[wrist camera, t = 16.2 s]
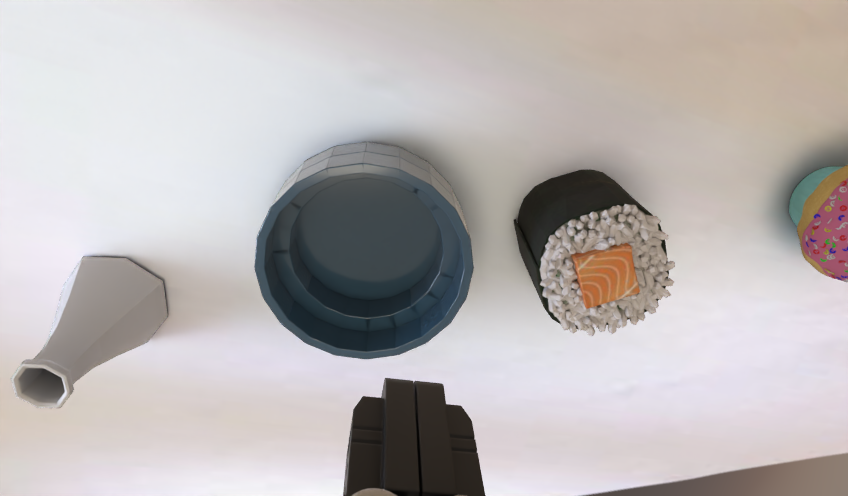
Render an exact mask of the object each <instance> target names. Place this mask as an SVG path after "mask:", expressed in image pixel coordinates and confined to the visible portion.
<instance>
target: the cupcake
mask: <svg viewBox="0 0 848 496" xmlns="http://www.w3.org/2000/svg"><path fill="white" fill-rule="evenodd" d="M789 213H790V216H791V219H792V220H793V222H794V223H795V225H796V226H797V232H798V236H799V239H800V245H801V250H802V254H803V256H804V258H805V259H806V260H807V261H808V262H809V263H810V264H811V265H812V266H813V267H814V268H815V269H816V270H818V271H819V272H820V273H822V274H824V275H826V276H829V277H831V278H834V279H838V280H842V281H844V282H848V165H847V166H844V167H839V166H831V167H825V168H822V169H819V170H816V171H814V172H812V173H811V174H809V175H808V176H807V177H805V178H804V179H803V180H802V181H801V182H800V183H799V184H798V186H797V187H796V188H795V190H794V192H793V194H792V196H791V199H790V203H789Z"/></svg>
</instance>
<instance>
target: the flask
mask: <svg viewBox="0 0 848 496" xmlns="http://www.w3.org/2000/svg"><path fill="white" fill-rule="evenodd" d="M167 317H168V314H167V307H166V299H165V292H164V284H163V281H162V280H160V279H158V278H157V277H155V276H154V275H152V274H150V273H149V272H147V271H146V270H144V269H143V268H141V267H139V266H138V265H136V264H135V263H133V262H131V261H130V260H128V259H127V258H109V257H84V256H83V258H82V259H81V261H80V262H79V263H78V265H77V266H76V268H75V269H74V271H73V272H72V274H71V275H70V277H69V278H68V279H67V281H66V282H65V284H64V286H63V289H62V292H61V296H60V300H59V304H58V308H57V312H56V316H55V319H54V322H53V325H52V328H51V331H50V334H49V338H48V340H47V342H46V344H45V345H44V347H43V349H42V350H41V351H40V353H39V354H38V355H37V356H36V357H35V358H34V359H32V360H30V359H28V360H25V361H23V362H22V363H21V365H20V366H19V367H18V369H17V370H16V372H15V373H14V375H13V376H12V378H11V381H12V385H13V388H14V392H15V395H16V397H18V398H19V399H21V400H23V401H25V402H27V403H29V404H31V405H33V406H35V407H37V408H61V407H62V406H63V404H64V403H65V402H66V400H67V399H68V398H69V396H70V395H71V394H72V392H73V390H74V387H73V384H74V383H75V382H76V381H77V380H78V379H80V378H81V377H82V376H84V375H85V374H86V373H87V372H89V371H90V370H91V369H92V368H94V367H96V366H98V365H100V364H102V363H104V362H106V361H108V360H110V359H112V358H114V357H116V356H118V355H120V354H122V353H125V352H127V351H129V350H132V349H134V348H136V347H138V346H141V345H143V344H145V343H147V342H148V341H149V340H150V338H151V337H152V336H153V335H154V333H155V332H156V331H157V329H158V328H159V327H160V326H161V324H162V323H163V322H164V320H165V319H166V318H167Z"/></svg>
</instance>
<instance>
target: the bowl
mask: <svg viewBox="0 0 848 496" xmlns="http://www.w3.org/2000/svg"><path fill="white" fill-rule="evenodd" d="M473 268H474V267H473V258H472V249H471V239H470V236H469V232H468V229H467V225H466V222H465V219H464V215H463V211H462V208H461V206H460V204H459V202H458V200H457V198H456V196H455V194H454V192H453V190H452V188H451V186H450V184H449V183H448V182H447V181H446V180H445V179H444V178H443V177H442V176H441V175H440V174H439V173H438V172H437V171H436V169H435V168H434V167H433V166H432V165H431V164H430V163H428V162H427V161H425V160H423V159H422V158H420V157H418V156H416V155H414V154H412V153H410V152H408V151H406V150H404V149H402V148H399V147H396V146H390V145H384V144H378V143H372V142H361V143H354V144H347V145H339V146H334V147H332V148H330V149H328V150H326V151H324V152H322V153H320V154H318V155H316V156H314V157H312V158H310V159H307V161H305V162H304V163H303V164H302V165H301V166H300V167H299V168H298V169H297V170H296V171H295V172H294V173H293V174H292V175H291V176H290V177H289V178H288V179H287V180H286V181H285V183H284V184H283V186H282V188H281V190H280V191H279V193H278V195H277V197H276V198H275V200H274V202H273V204H272V206H271V207H270V209H269V211H268V213H267V216H266V218H265V220H264V222H263V224H262V226H261V229H260V231H259V233H258V235H257V240H256V254H255V272H256V275H257V279H258V282H259V286H260V289H261V293H262V296H263V298H264V300H265V301H266V303H267V304H268V306H269V307H270V309H271V310H272V312H273V313H274V314H275V316H276V317H277V319H278V320H279V322H280V323H281V324H282V325H283V326H284V327H286V328H287V329H288V330H289V331H291V332H292V333H293V334H295V335H296V336H297V337H298V338H300V339H301V340H302V341H303V342H305V343H306V344H309V345H311V346H314V347H316V348H318V349H321V350H323V351H326V352H328V353H331V354H333V355H336V356H344V357H352V358H360V359H373V358H380V357H387V356H395V355H400V354H402V353H404V352H407V351H409V350H411V349H414V348H416V347H418V346H421V345H423V344H425V343H426V342H428V341H429V340H431V339H432V338H433V337H434V336H436V335H437V334H438V333H439V332H440V331H442V330H443V329H444V328H445V327H446V326H448V325H449V324H450V323H451V322H452V320H453V318H454V317H455V315H456V314H457V312H458V311H459V309H460V308H461V306H462V305H463V303H464V301H465V300H466V297H467V294H468V290H469V286H470V282H471V278H472V274H473Z"/></svg>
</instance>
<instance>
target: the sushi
mask: <svg viewBox="0 0 848 496" xmlns="http://www.w3.org/2000/svg"><path fill="white" fill-rule="evenodd" d="M660 222H661V221H660V219H659V218H657V217H656V216H653V215H652V214H651V213H650V212H648V211H647V210H646V209H645V208H644V207H642V206H641V205H640V204H639V203H638V202H637V201H635V200H634V199H633V198H632V197H631V196H630V195H629V194H628V193H627V192H626V191H625V190H624V189H623V188H622V187H621V186H620V185H619V184H617V183H616V182H615V181H614V180H613V179H611V178H610V177H608V176H607V175H606V174H604V173H603V172H599V171H595V170H580V171H576V172H573V173H569V174H566V175H562V176H559V177H555V178H552V179H549V180H547V181H545V182H543V183H541V184H540V185H538V186H536V187H534V188H533V190H532V191H531V192H530V193H529V194H528V195H527V196H526V197H525V198H524V200H523V203H522V205H521V208H520V210H519V216H518V223H517V221H516V219H515V220H514V225H515V230H516V235H517V240H518V245H519V250H520V253H521V256H522V258H523V261H524V263H525V266H526V268H527V270H528V272H529V275H530V277H531V279H532V281H533V284H534V286H535V288H536V290H537V293H538V295H539V297H540V299H541V302H542V304H543V306H544V308H545V310H546V311H547V312H548V314H549V315H550V317H551V318H552V319H553V320H555V321H556V322H558V323H560V324H561V326H562V328H563V329H564V330H568V329H569V330H570V332H572V333H575V332H576V331H577V330H576V329H579V330H585V331H586V330H587V333H588V335H591V336H593V335H594V333H595V330H594V328H597V327H598V329H599V331H600V332H602V331H605V328H606V325H608V331H609V332H610V333H611V334H613V333H614V332H616V327H617V328H620V326H621V327H622V328H623V327H624V326H625V325H626V323H627V320H628V319H630V321H631V323H632V324H634V325H636V324H637V322H638V319H640V320H642V321H644V318H645V315H644V312H646V311H648V312H649V313H651V314H652V313H655V312H656V310H655V308H657V307H658V300H659V299H660V300H661V298H662V297H663V296H664V297H668V296H670V295H671V294H670V293H669V291H668V290H666V289H665V287H666V286H672V285H673V283H674V281H673V280H671V279H670V278H669V279H668V276H669V271H668V270H670V269H672V268H673V267H675V263H674V262H673V261H669V262H667V259H668V258H667V253H666V245H665V240H667V239H668V235H667V234H665V233H663V232H662V230H661V227H660V225H659V223H660Z"/></svg>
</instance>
